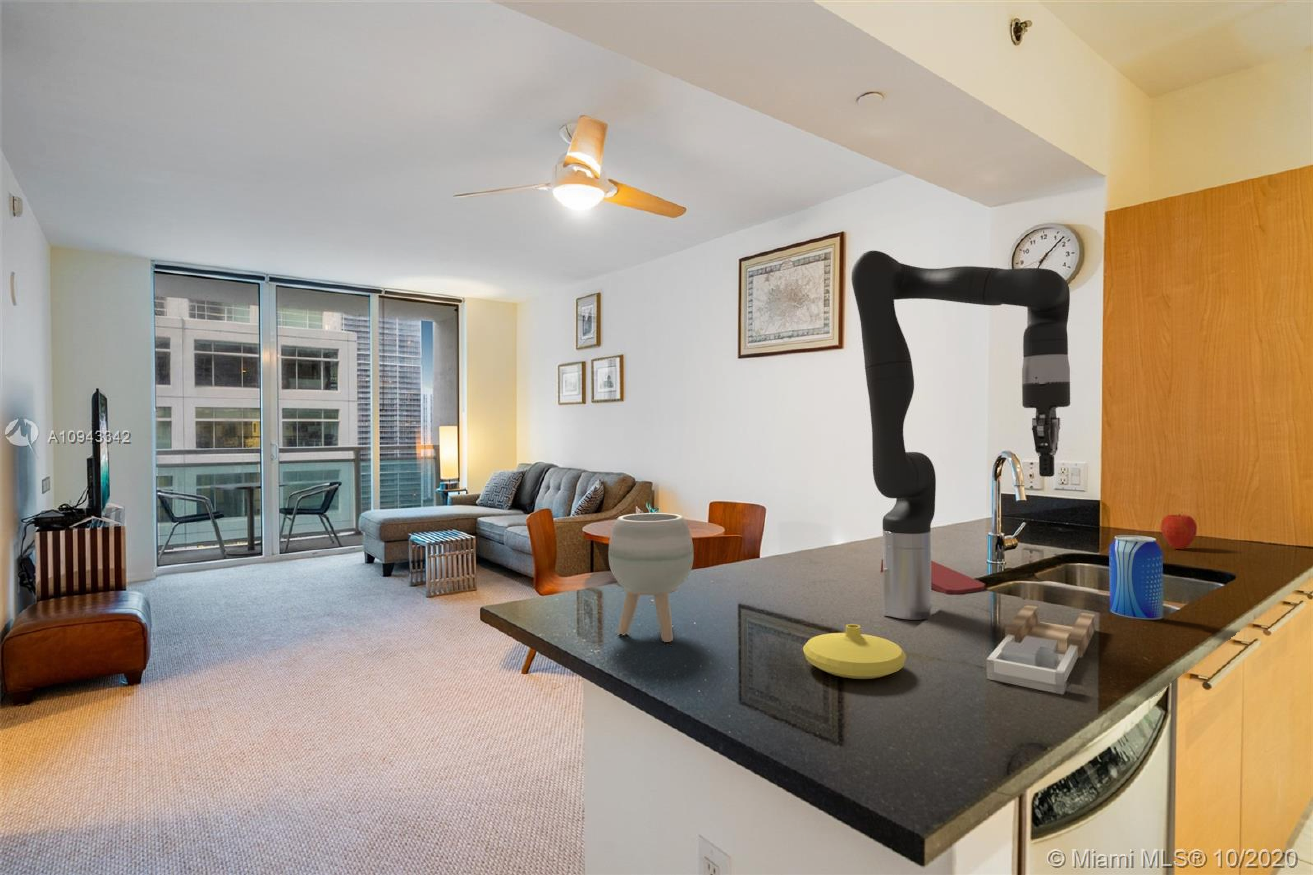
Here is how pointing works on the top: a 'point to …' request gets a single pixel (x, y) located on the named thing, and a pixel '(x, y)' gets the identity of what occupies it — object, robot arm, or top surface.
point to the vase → (854, 654)
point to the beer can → (1136, 577)
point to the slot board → (1052, 630)
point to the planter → (650, 562)
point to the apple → (1179, 530)
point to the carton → (951, 580)
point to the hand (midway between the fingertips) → (1046, 476)
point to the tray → (1032, 670)
